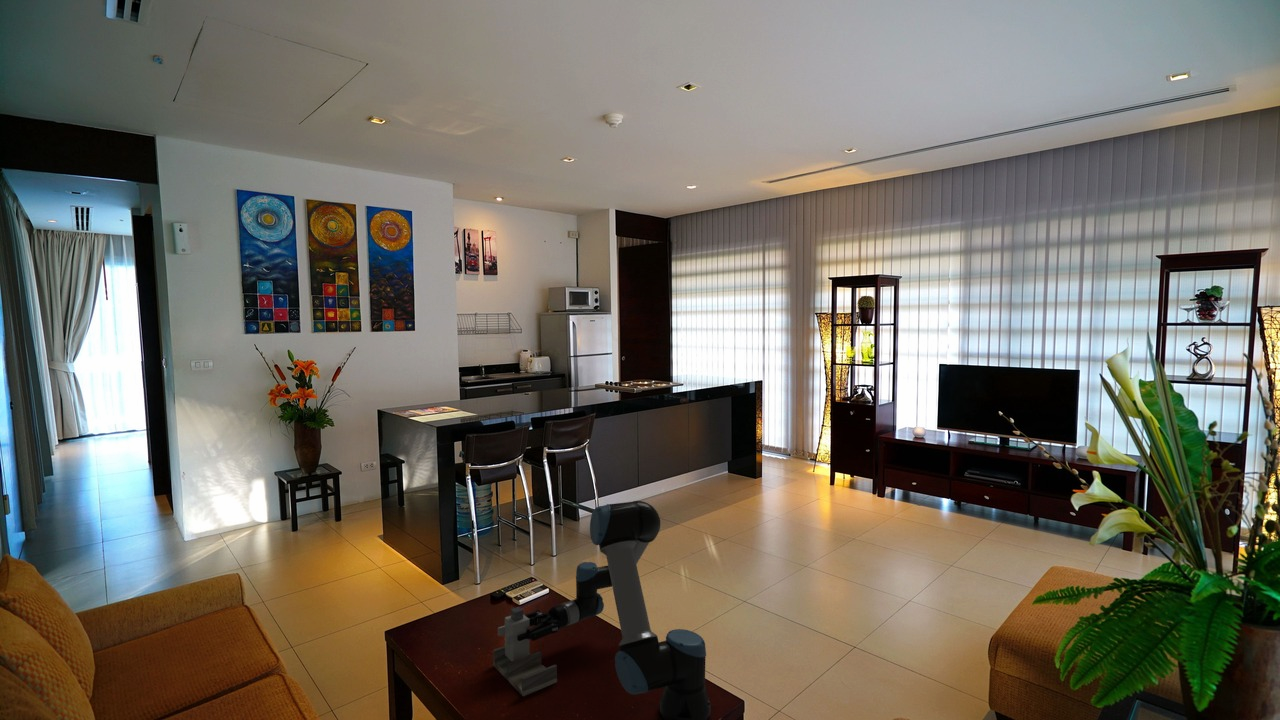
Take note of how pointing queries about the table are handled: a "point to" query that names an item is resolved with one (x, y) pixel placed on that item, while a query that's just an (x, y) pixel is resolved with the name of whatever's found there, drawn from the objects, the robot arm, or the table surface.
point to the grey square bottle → (515, 625)
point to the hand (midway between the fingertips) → (502, 636)
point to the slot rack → (525, 671)
